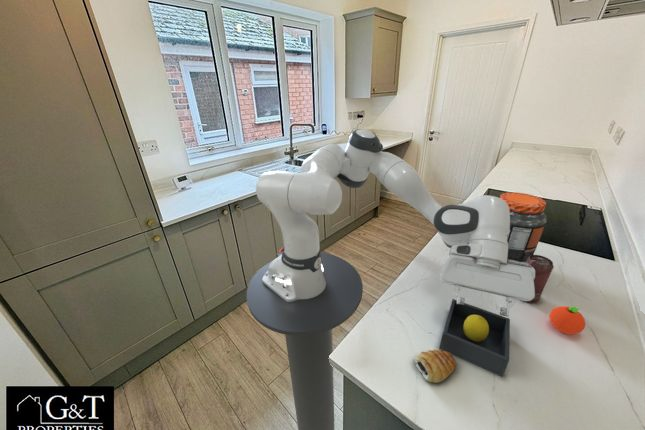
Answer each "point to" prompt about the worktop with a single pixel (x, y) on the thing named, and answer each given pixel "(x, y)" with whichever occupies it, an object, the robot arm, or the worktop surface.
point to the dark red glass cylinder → (540, 273)
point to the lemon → (476, 328)
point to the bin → (482, 354)
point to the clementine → (567, 319)
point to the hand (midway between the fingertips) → (481, 309)
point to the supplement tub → (524, 224)
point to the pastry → (435, 365)
